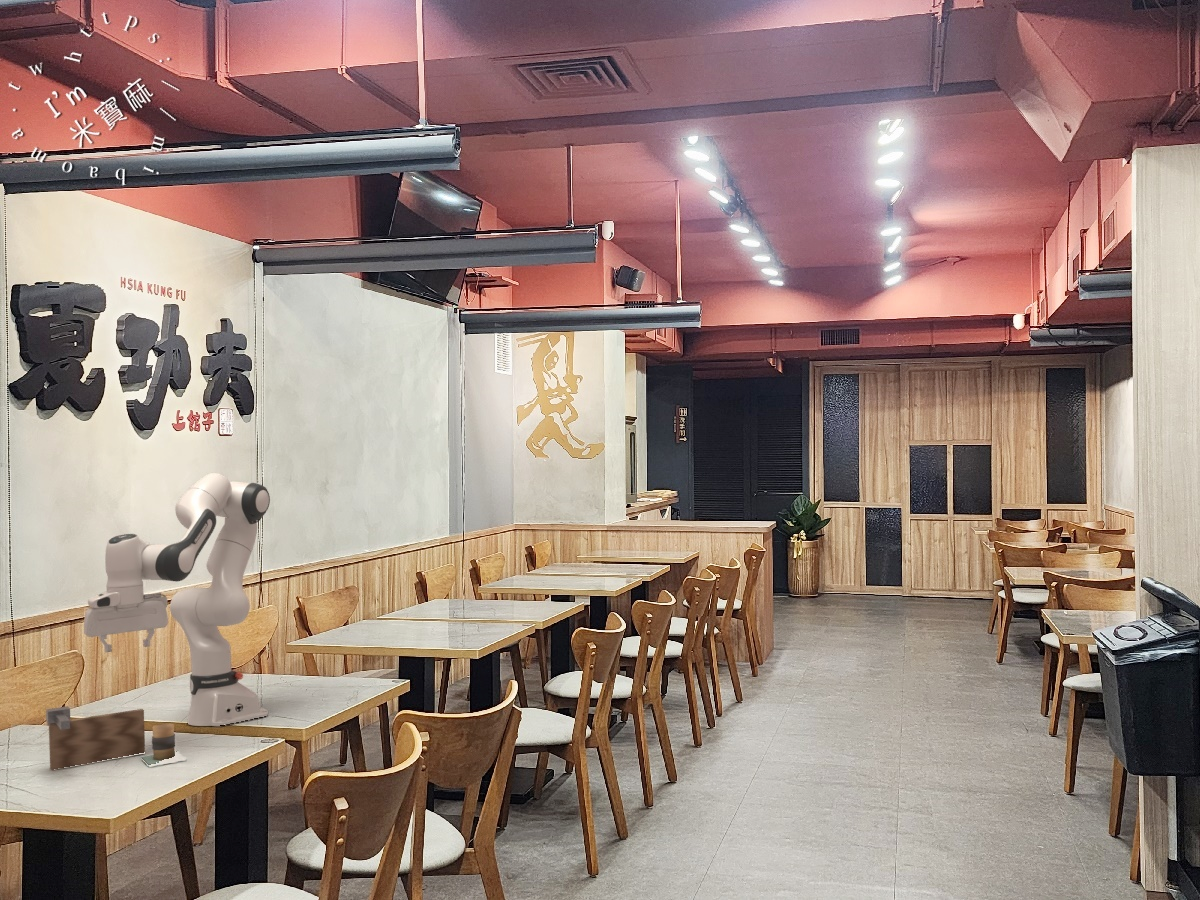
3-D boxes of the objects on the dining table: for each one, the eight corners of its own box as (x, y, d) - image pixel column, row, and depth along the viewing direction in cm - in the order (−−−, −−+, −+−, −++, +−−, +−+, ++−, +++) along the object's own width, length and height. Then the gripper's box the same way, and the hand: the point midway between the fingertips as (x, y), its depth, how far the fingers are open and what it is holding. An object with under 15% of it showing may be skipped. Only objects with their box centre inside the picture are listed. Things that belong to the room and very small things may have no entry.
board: (143, 752, 279) (142, 708, 279) (145, 754, 277) (143, 710, 277) (50, 768, 266) (48, 722, 266) (51, 770, 264) (49, 724, 264)
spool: (173, 753, 274) (172, 722, 274) (177, 757, 269) (176, 725, 270) (150, 757, 271) (149, 725, 271) (155, 761, 266) (154, 729, 267)
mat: (178, 753, 276) (178, 750, 276) (186, 760, 269) (186, 757, 269) (141, 760, 271) (141, 757, 271) (149, 767, 264) (149, 764, 264)
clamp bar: (68, 718, 269) (67, 706, 269) (76, 728, 258) (76, 715, 258) (46, 721, 267) (45, 709, 267) (54, 731, 255) (53, 719, 255)
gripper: (164, 591, 287) (166, 641, 287) (81, 600, 275) (83, 653, 275) (169, 593, 282) (172, 644, 282) (85, 602, 270) (88, 656, 270)
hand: (127, 649), depth 279 cm, fingers open, 8 cm apart
